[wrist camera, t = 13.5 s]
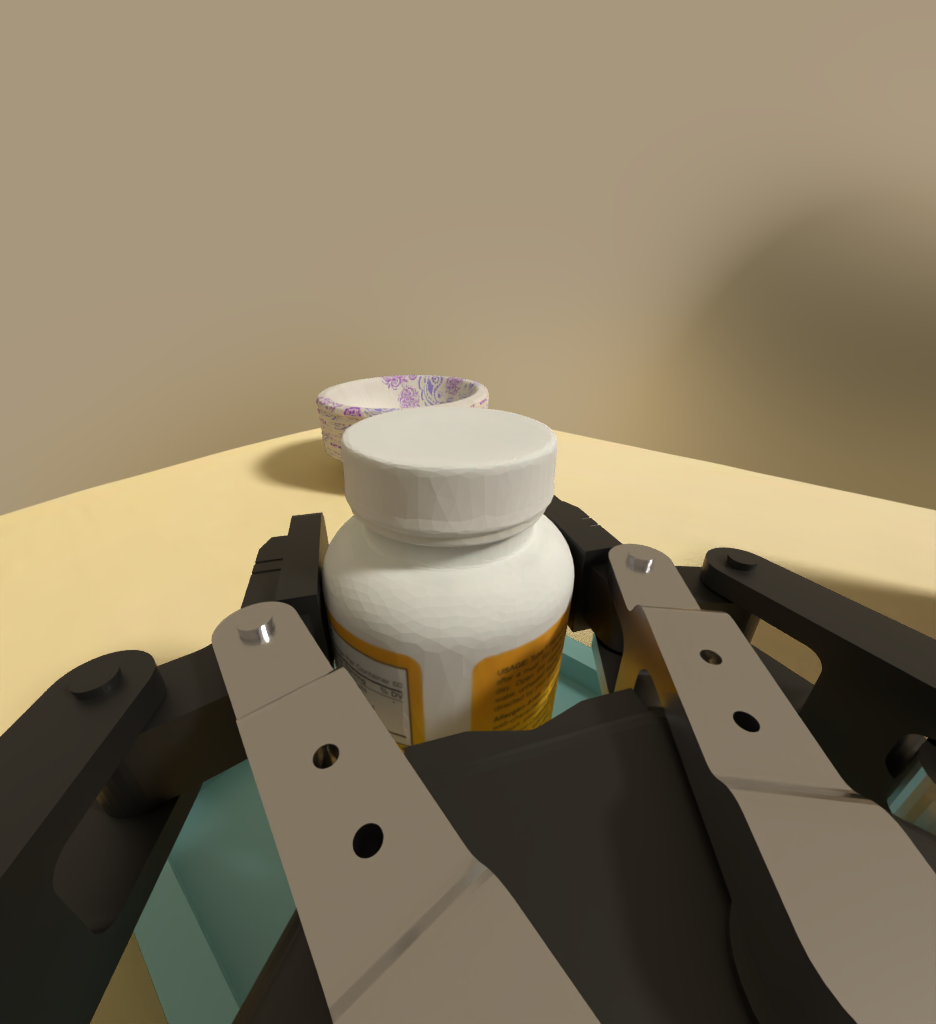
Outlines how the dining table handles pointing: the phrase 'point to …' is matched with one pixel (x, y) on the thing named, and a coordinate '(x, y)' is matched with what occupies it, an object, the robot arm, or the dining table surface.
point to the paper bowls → (390, 401)
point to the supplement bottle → (449, 571)
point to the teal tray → (245, 885)
